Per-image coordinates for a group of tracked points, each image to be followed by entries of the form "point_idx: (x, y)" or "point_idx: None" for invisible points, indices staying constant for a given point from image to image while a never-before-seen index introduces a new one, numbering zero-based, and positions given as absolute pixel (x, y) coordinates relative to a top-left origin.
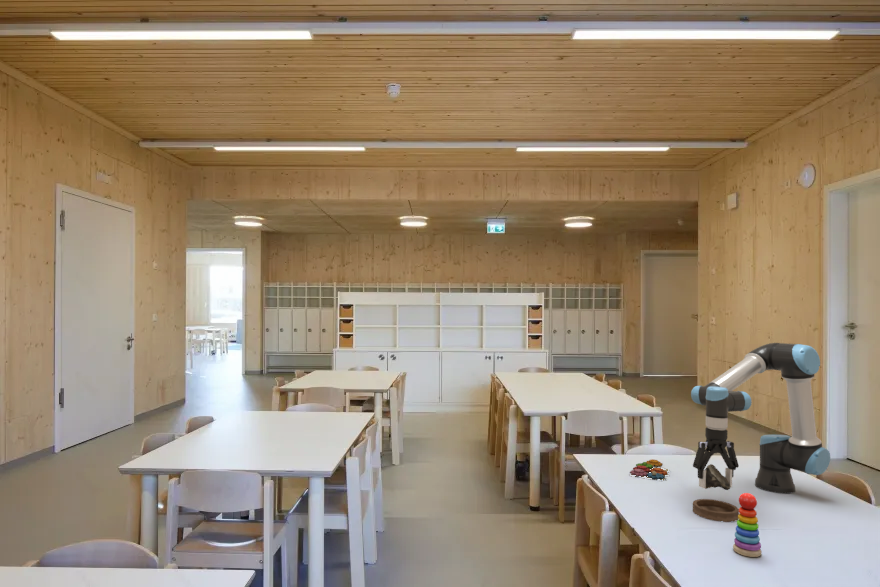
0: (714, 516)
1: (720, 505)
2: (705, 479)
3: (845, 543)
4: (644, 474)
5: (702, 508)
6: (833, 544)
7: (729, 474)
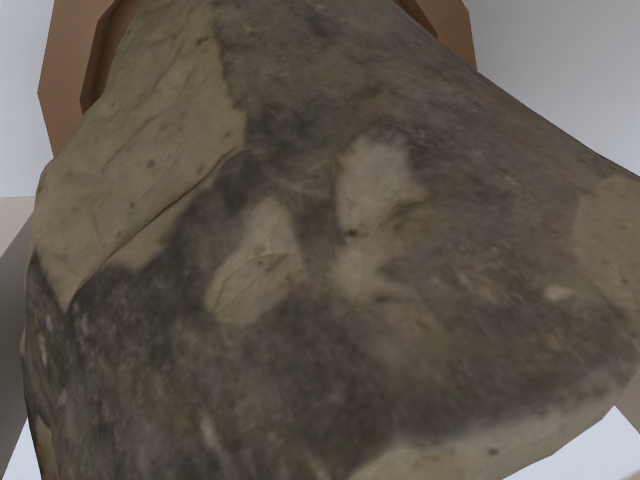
0: None
1: (419, 21)
2: (18, 423)
3: (568, 467)
4: None
5: None
6: (516, 475)
7: (630, 396)
